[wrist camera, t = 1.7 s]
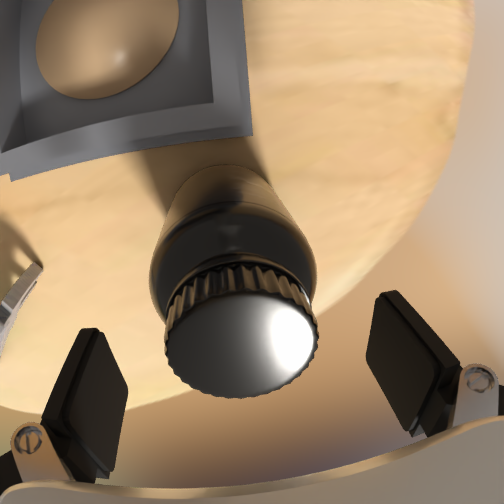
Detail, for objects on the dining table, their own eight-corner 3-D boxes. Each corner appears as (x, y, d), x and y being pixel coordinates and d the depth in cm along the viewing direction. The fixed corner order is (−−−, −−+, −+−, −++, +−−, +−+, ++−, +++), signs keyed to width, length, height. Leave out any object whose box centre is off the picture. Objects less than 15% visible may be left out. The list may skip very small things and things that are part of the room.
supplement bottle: (149, 199, 19) (82, 319, 8) (246, 142, 18) (299, 194, 7) (207, 281, 22) (211, 433, 11) (295, 233, 21) (374, 363, 10)
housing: (11, -21, 9) (-17, -34, 6) (232, -81, 11) (238, -113, 7) (18, 178, 16) (-15, 194, 13) (250, 134, 18) (260, 140, 14)
